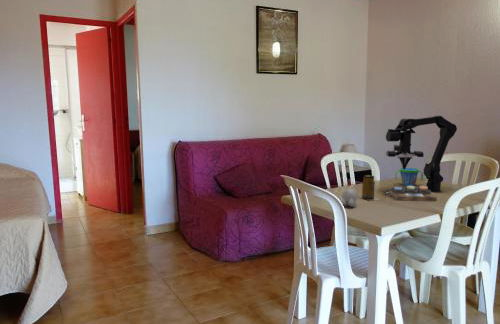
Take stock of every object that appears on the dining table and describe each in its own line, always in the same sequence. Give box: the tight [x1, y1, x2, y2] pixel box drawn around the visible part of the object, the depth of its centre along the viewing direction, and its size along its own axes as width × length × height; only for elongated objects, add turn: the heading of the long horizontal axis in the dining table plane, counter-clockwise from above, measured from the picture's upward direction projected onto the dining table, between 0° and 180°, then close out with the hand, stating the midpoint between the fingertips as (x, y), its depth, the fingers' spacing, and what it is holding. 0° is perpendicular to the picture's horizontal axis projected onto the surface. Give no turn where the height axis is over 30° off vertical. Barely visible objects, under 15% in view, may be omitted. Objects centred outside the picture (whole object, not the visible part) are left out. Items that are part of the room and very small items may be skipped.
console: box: [388, 187, 438, 202], centre depth 209 cm, size 20×14×4 cm
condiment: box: [358, 174, 379, 201], centre depth 207 cm, size 7×8×12 cm
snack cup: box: [395, 167, 424, 187], centre depth 241 cm, size 16×10×10 cm
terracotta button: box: [418, 185, 428, 190], centre depth 211 cm, size 4×4×2 cm
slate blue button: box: [393, 186, 403, 190], centre depth 212 cm, size 4×4×2 cm
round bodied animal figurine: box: [340, 188, 359, 208], centre depth 192 cm, size 7×12×8 cm, turn 145°
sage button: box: [406, 185, 416, 190], centre depth 212 cm, size 4×4×2 cm
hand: (403, 169), depth 221 cm, fingers closed
